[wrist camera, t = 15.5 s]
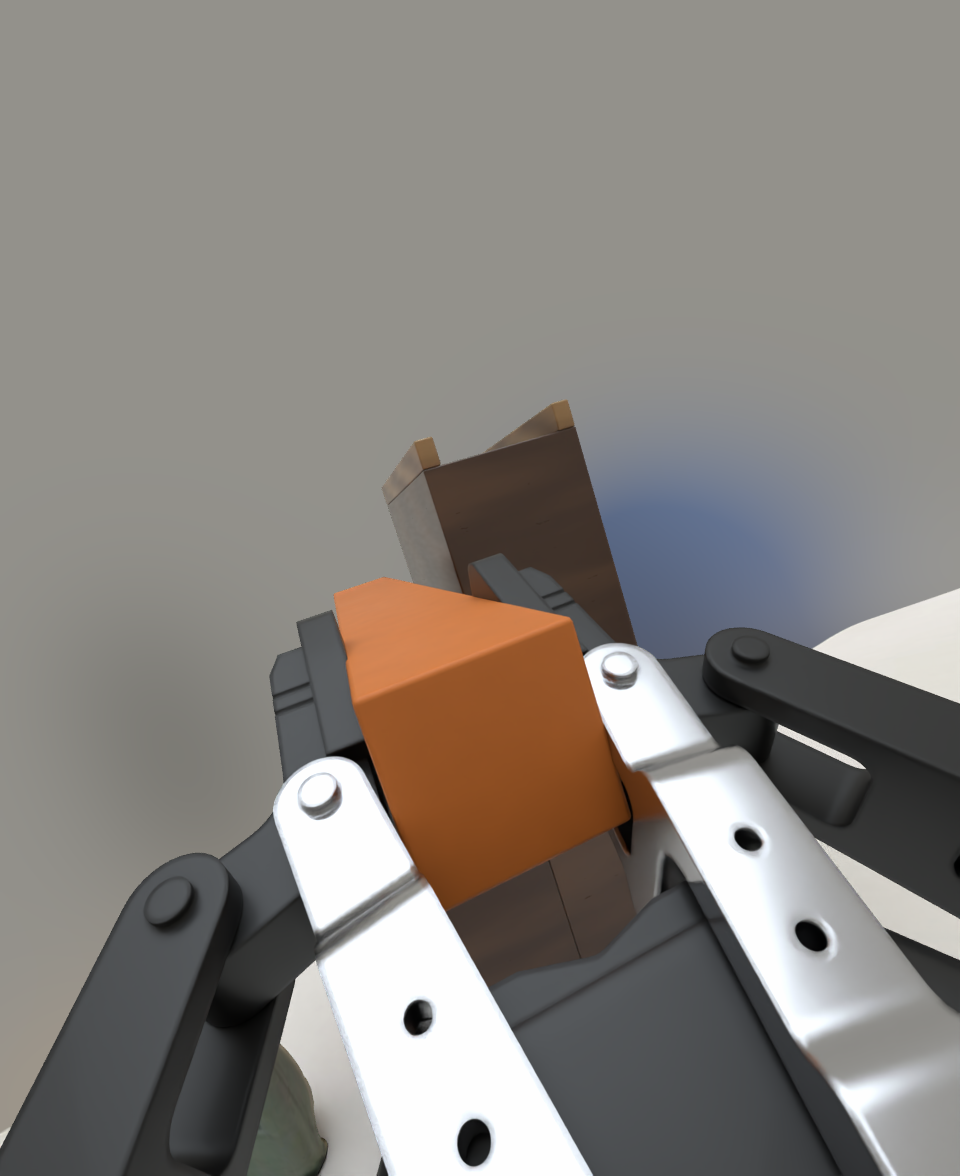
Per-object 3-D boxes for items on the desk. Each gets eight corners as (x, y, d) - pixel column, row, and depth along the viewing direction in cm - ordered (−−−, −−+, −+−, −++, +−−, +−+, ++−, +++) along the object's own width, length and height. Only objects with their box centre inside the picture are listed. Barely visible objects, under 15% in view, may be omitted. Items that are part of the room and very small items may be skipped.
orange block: (635, 820, 8) (573, 614, 7) (430, 923, 7) (350, 701, 6) (401, 626, 32) (385, 576, 31) (351, 644, 31) (333, 593, 31)
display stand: (753, 1049, 28) (567, 398, 24) (500, 1213, 25) (234, 490, 20) (614, 890, 41) (481, 458, 37) (439, 983, 38) (271, 519, 34)
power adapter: (216, 1265, 26) (152, 1125, 25) (221, 1159, 31) (168, 1038, 30) (334, 1178, 28) (279, 1045, 27) (322, 1091, 33) (275, 976, 32)
